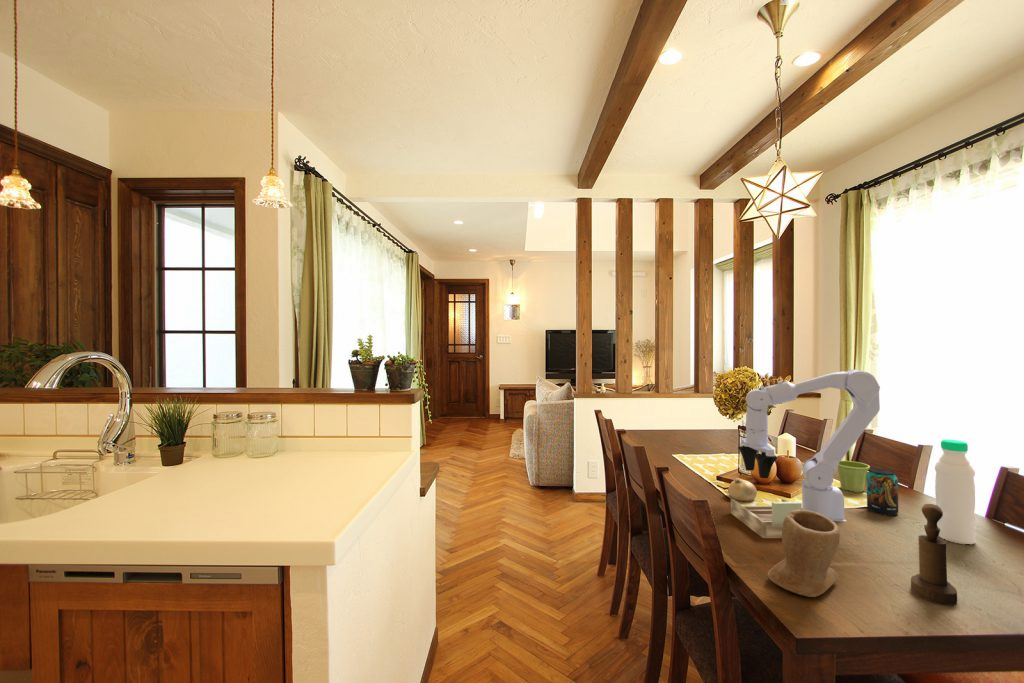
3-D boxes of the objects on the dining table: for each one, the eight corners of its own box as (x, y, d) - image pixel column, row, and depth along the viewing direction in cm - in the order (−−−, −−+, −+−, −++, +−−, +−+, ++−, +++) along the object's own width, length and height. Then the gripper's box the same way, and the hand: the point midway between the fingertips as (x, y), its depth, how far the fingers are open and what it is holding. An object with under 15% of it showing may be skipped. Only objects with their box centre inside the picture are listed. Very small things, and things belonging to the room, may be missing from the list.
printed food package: (878, 515, 123) (877, 474, 123) (861, 506, 130) (860, 467, 130) (904, 516, 122) (904, 474, 122) (886, 507, 129) (886, 467, 129)
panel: (772, 532, 112) (771, 501, 112) (798, 532, 112) (798, 501, 112) (774, 534, 110) (774, 503, 110) (801, 534, 110) (801, 503, 110)
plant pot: (845, 493, 141) (844, 467, 141) (829, 484, 151) (828, 459, 151) (877, 495, 140) (876, 468, 140) (858, 485, 149) (858, 460, 149)
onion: (734, 494, 142) (734, 472, 142) (760, 500, 136) (760, 478, 136) (724, 500, 137) (724, 477, 137) (751, 506, 131) (751, 483, 131)
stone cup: (825, 612, 79) (824, 532, 80) (759, 583, 89) (758, 511, 89) (857, 586, 88) (856, 513, 88) (793, 562, 98) (792, 496, 98)
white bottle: (966, 536, 110) (965, 439, 110) (982, 548, 103) (980, 445, 104) (930, 531, 113) (929, 436, 113) (943, 542, 106) (942, 442, 107)
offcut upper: (751, 517, 119) (751, 513, 119) (789, 518, 118) (789, 514, 118) (758, 523, 115) (758, 519, 115) (797, 524, 114) (797, 520, 114)
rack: (730, 515, 125) (730, 499, 125) (784, 514, 124) (784, 499, 124) (762, 540, 109) (762, 522, 109) (824, 539, 108) (823, 521, 108)
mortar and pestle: (901, 586, 87) (900, 499, 88) (930, 585, 88) (929, 497, 88) (936, 606, 81) (935, 511, 81) (967, 604, 81) (965, 510, 81)
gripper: (731, 424, 137) (731, 466, 137) (757, 434, 122) (757, 481, 122) (753, 424, 137) (753, 466, 137) (781, 434, 122) (781, 481, 122)
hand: (756, 473), depth 130 cm, fingers open, 7 cm apart
